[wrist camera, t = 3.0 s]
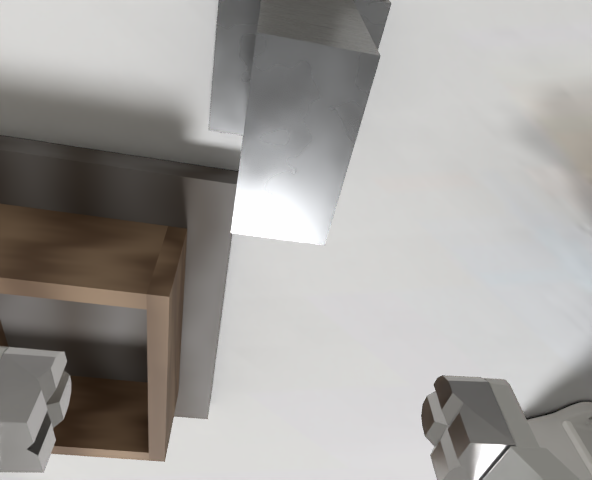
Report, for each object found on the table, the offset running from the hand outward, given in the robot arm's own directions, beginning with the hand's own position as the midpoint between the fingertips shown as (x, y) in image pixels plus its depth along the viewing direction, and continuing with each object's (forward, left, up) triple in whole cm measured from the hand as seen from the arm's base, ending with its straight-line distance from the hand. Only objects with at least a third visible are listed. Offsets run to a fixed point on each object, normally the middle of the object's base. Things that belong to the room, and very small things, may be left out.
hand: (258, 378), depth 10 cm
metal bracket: (-1, -1, -19) cm, 19 cm away
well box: (+11, +19, -19) cm, 29 cm away
